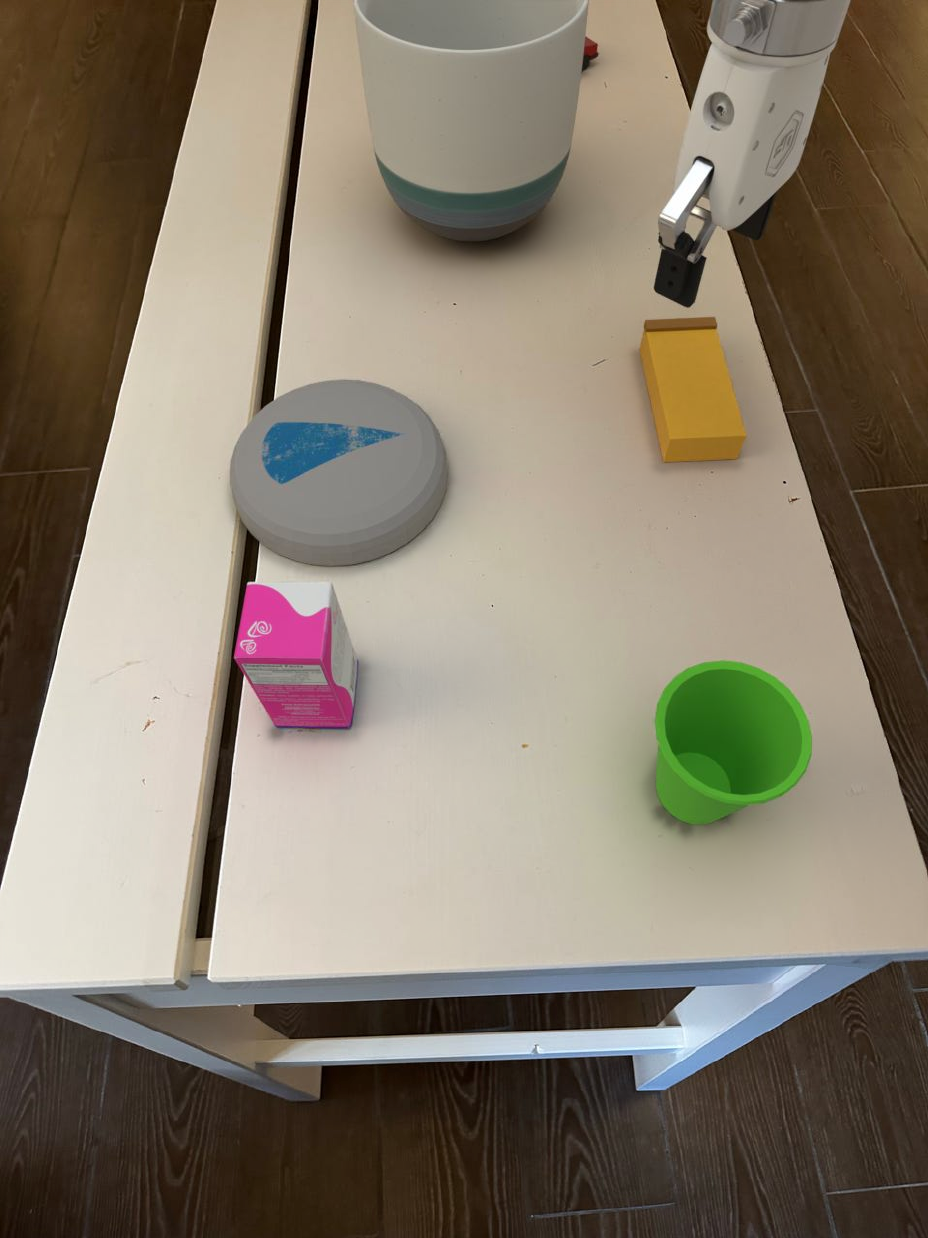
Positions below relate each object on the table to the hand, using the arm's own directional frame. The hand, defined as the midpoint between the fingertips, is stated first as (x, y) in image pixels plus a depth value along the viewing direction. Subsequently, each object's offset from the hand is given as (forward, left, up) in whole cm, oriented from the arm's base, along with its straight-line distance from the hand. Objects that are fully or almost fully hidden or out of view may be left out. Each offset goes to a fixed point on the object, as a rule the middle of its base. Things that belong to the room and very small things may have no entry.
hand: (708, 263), depth 63 cm
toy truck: (+36, -46, -15) cm, 60 cm away
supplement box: (+12, +39, -15) cm, 44 cm away
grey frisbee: (+22, +21, -15) cm, 34 cm away
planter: (+30, -16, -15) cm, 37 cm away
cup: (-15, +32, -15) cm, 39 cm away
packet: (-1, -2, -15) cm, 15 cm away
